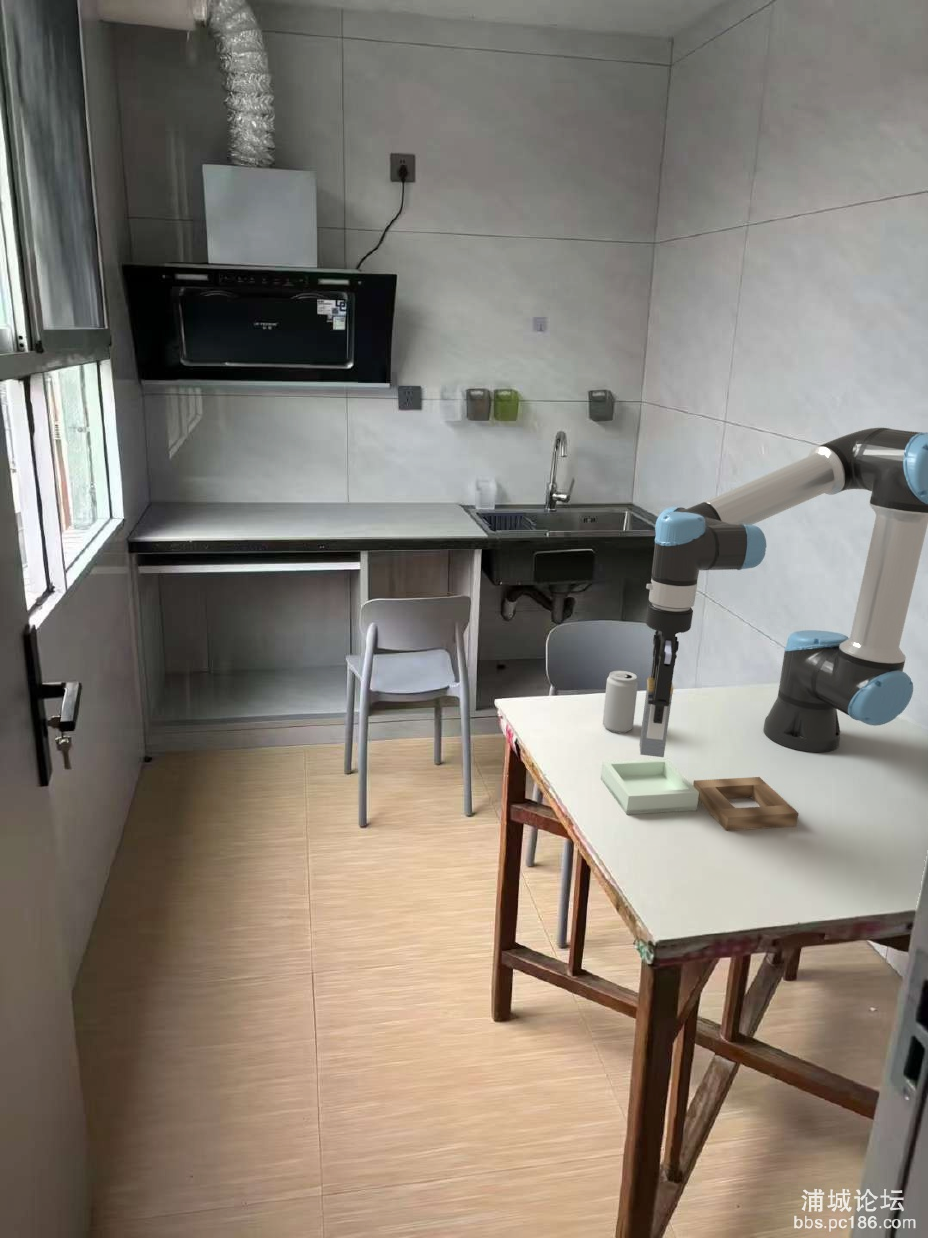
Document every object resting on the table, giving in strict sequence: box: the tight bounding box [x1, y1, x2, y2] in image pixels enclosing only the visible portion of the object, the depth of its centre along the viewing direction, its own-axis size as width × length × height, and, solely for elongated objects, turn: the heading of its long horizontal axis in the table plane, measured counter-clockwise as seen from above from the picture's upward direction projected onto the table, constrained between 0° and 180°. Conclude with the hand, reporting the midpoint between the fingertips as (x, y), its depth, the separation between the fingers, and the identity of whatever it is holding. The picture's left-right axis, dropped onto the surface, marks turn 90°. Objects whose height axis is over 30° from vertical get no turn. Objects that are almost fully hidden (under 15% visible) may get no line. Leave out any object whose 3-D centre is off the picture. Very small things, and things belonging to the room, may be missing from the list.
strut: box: [639, 677, 674, 758], centre depth 152 cm, size 4×4×13 cm
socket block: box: [692, 776, 799, 832], centre depth 152 cm, size 13×13×2 cm
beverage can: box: [602, 670, 639, 734], centre depth 181 cm, size 6×6×12 cm
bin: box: [600, 758, 699, 815], centre depth 156 cm, size 13×13×4 cm
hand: (654, 732), depth 152 cm, fingers closed on strut, 4 cm apart
